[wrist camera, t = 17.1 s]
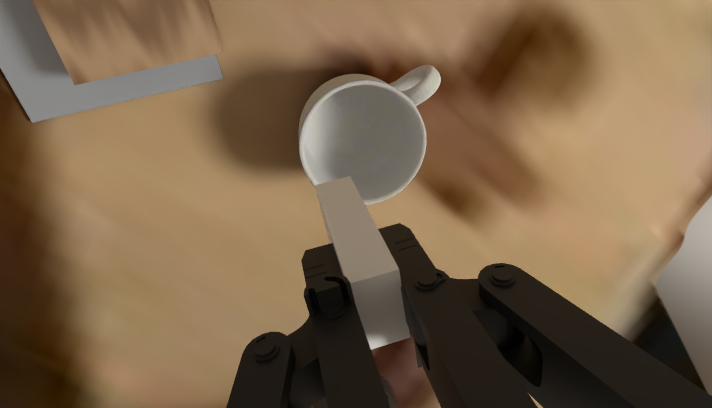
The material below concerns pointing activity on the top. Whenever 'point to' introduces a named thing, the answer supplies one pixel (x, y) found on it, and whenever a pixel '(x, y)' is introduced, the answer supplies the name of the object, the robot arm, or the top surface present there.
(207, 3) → the walnut slab
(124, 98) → the felt mat
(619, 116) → the top surface
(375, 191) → the teacup
